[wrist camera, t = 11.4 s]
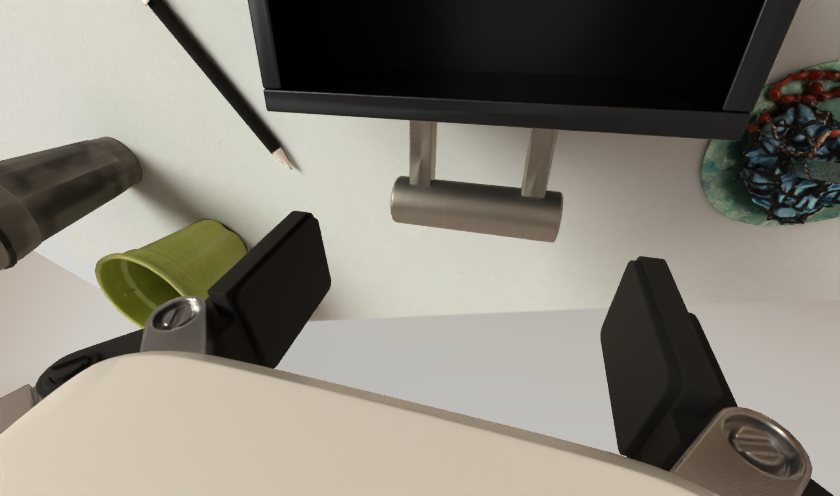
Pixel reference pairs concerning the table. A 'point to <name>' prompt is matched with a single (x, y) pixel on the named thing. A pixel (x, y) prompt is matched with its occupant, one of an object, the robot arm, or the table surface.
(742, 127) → the bin
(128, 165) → the beverage cup
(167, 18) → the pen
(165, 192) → the table surface
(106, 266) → the plant pot
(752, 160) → the dish
